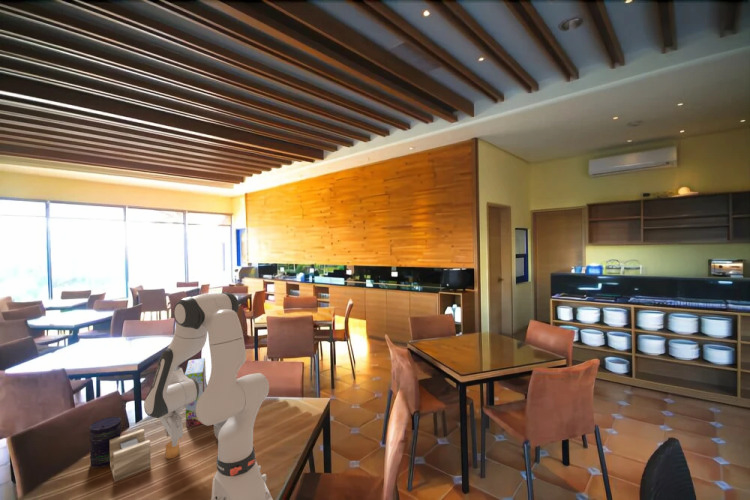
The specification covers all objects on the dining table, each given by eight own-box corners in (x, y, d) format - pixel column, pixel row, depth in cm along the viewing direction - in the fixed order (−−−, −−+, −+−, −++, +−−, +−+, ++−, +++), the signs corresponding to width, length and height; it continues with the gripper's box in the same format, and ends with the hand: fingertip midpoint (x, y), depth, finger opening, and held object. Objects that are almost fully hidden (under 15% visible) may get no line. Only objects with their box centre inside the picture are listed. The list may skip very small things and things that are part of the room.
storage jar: (96, 455, 134) (96, 419, 134) (125, 449, 137) (125, 414, 137) (85, 470, 125) (84, 432, 124) (116, 464, 128) (115, 426, 128)
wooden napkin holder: (150, 467, 126) (150, 441, 126) (114, 481, 119) (114, 454, 118) (143, 452, 136) (143, 428, 135) (109, 465, 128) (109, 439, 128)
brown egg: (180, 454, 134) (180, 444, 134) (167, 460, 131) (167, 449, 130) (177, 450, 137) (177, 439, 137) (164, 455, 134) (164, 444, 134)
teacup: (229, 445, 140) (229, 426, 140) (207, 442, 142) (207, 424, 142) (248, 427, 154) (248, 410, 154) (228, 425, 156) (228, 408, 156)
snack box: (188, 407, 173) (188, 359, 173) (207, 404, 177) (206, 357, 176) (184, 428, 153) (183, 374, 153) (205, 424, 157) (204, 371, 157)
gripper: (187, 414, 129) (187, 448, 129) (173, 396, 143) (173, 427, 143) (169, 420, 124) (169, 455, 124) (156, 401, 139) (156, 433, 139)
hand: (171, 440), depth 134 cm, fingers open, 8 cm apart
